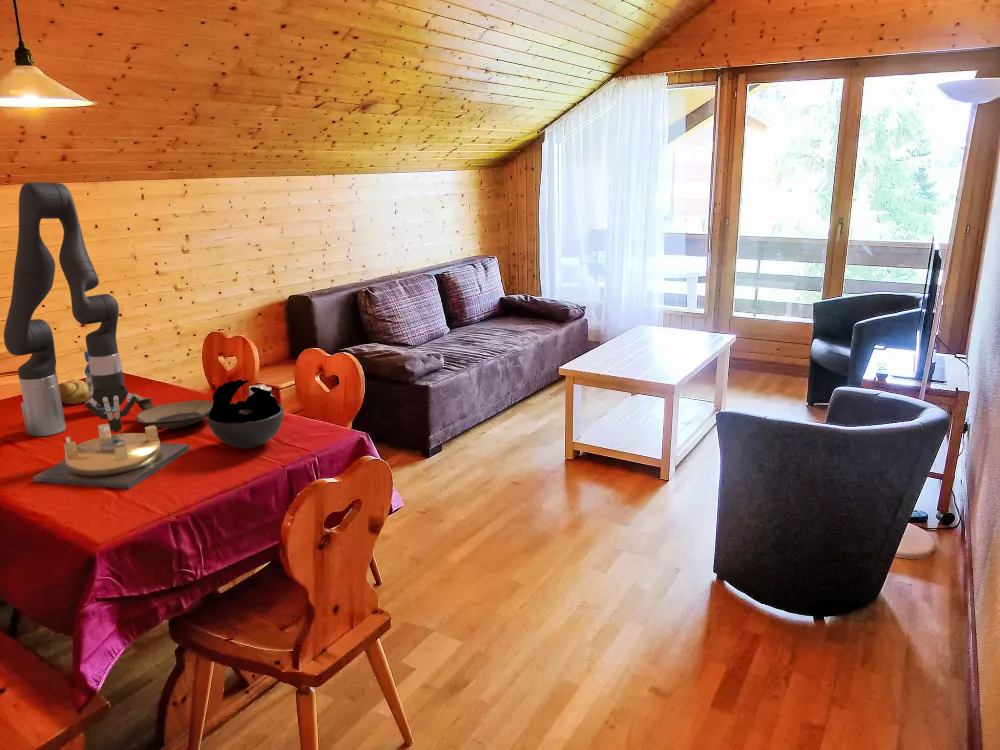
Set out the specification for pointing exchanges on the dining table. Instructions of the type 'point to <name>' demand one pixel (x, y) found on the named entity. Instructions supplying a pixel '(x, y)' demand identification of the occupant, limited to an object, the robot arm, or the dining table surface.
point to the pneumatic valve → (261, 388)
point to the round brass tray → (112, 452)
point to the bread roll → (74, 392)
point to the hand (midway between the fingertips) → (116, 431)
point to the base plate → (118, 480)
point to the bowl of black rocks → (244, 416)
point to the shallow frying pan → (172, 413)
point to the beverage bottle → (89, 383)
